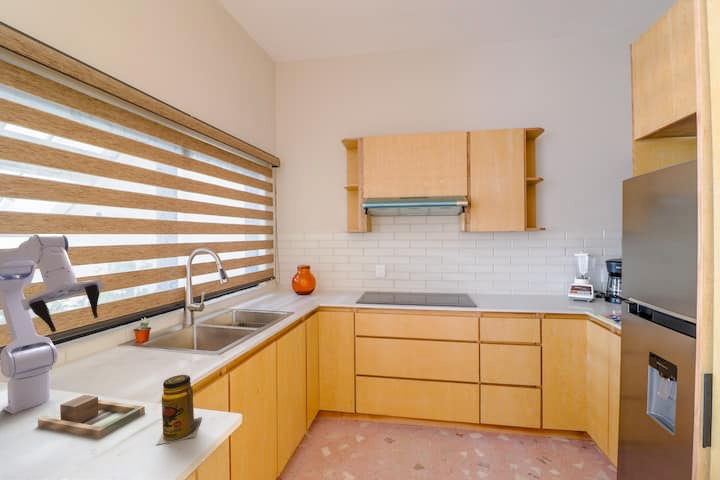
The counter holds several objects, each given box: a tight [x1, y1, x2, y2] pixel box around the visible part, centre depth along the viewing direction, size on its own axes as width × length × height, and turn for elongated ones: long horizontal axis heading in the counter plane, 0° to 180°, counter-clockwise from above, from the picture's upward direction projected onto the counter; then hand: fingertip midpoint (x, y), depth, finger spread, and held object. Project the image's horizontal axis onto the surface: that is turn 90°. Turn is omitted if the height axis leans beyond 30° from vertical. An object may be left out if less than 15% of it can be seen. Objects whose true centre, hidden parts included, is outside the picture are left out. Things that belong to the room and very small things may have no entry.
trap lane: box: [37, 399, 146, 439], centre depth 76 cm, size 20×10×2 cm, turn 73°
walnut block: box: [59, 394, 99, 423], centre depth 77 cm, size 5×5×4 cm
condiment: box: [156, 374, 203, 445], centre depth 72 cm, size 7×8×12 cm
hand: (75, 323), depth 75 cm, fingers open, 7 cm apart
